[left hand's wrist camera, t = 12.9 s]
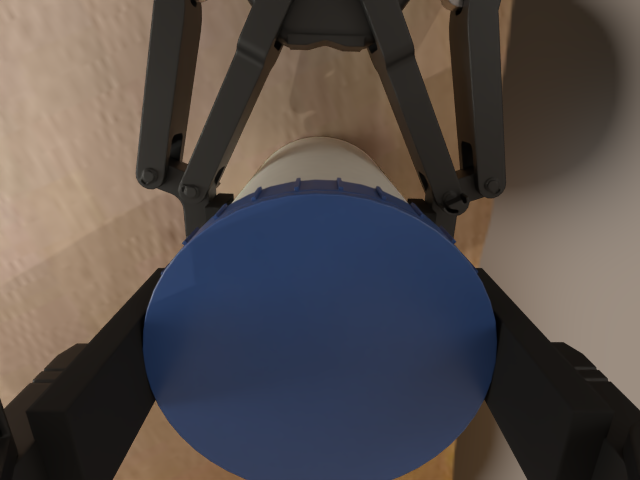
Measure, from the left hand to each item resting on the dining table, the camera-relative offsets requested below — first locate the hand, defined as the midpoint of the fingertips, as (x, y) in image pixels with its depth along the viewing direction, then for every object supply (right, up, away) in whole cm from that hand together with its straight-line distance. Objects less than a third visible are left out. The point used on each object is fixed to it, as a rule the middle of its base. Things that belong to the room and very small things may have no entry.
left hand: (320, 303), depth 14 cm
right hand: (0, -2, +8) cm, 8 cm away
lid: (0, -1, -3) cm, 3 cm away
